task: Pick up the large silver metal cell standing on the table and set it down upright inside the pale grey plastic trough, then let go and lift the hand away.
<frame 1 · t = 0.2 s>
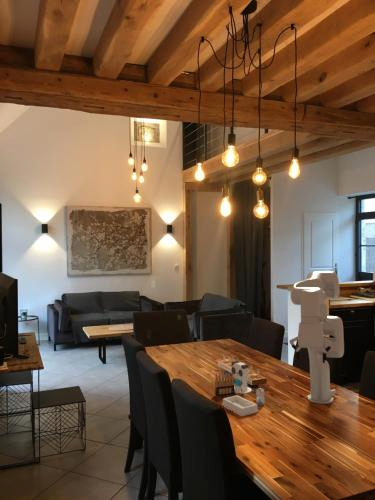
hand: (311, 361, 175), 31 cm above the table, tool pointing down, fingers open, 9 cm apart
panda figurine: (240, 390, 236), on the table
metal cell: (260, 404, 213), on the table
trough: (239, 408, 208), on the table
ammunition clip: (224, 395, 228), on the table
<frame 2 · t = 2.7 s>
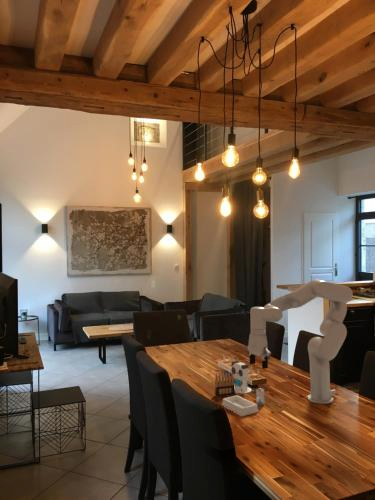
hand: (258, 366, 213), 19 cm above the table, tool pointing down, fingers open, 9 cm apart
nothing on the table moved.
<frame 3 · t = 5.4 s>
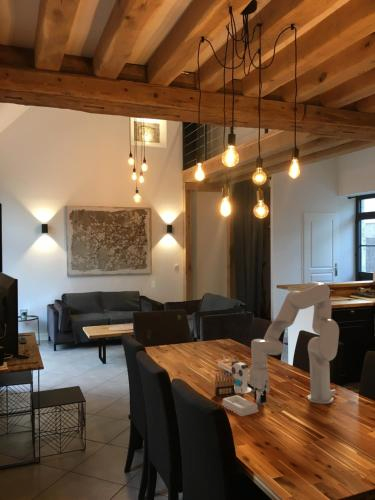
hand: (260, 400, 213), 2 cm above the table, tool pointing down, fingers closed on metal cell, 4 cm apart
metal cell: (260, 404, 213), on the table, touching gripper
everything else where it was.
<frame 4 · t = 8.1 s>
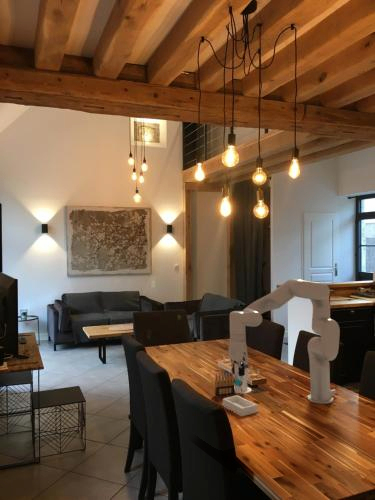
hand: (238, 374, 208), 17 cm above the table, tool pointing down, fingers closed on metal cell, 4 cm apart
metal cell: (238, 377, 208), point 15 cm above the table, touching gripper
everything else where it was.
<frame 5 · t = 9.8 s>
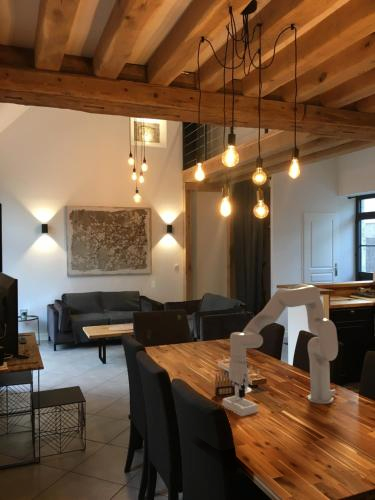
hand: (239, 395, 208), 7 cm above the table, tool pointing down, fingers closed on metal cell, 4 cm apart
metal cell: (239, 399, 208), point 5 cm above the table, touching gripper
everything else where it was.
when the fingers open (5 cm above the table, at t = 11.0 s): metal cell drops 2 cm, resting on trough.
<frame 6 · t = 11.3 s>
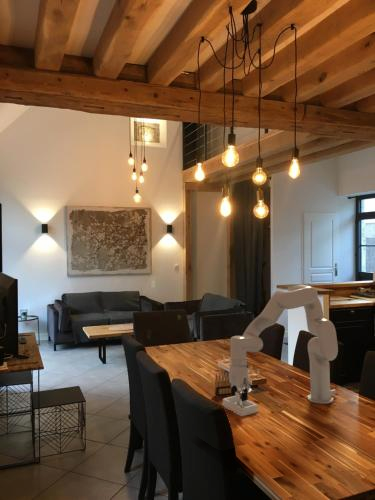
hand: (239, 397, 208), 5 cm above the table, tool pointing down, fingers open, 7 cm apart
metal cell: (239, 406, 208), point 1 cm above the table, touching trough
everything else where it was.
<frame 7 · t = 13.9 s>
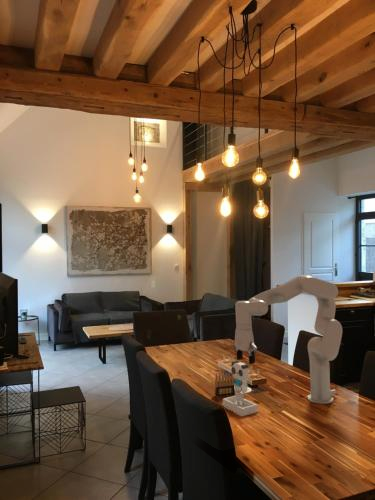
hand: (245, 361, 209), 23 cm above the table, tool pointing down, fingers open, 9 cm apart
nothing on the table moved.
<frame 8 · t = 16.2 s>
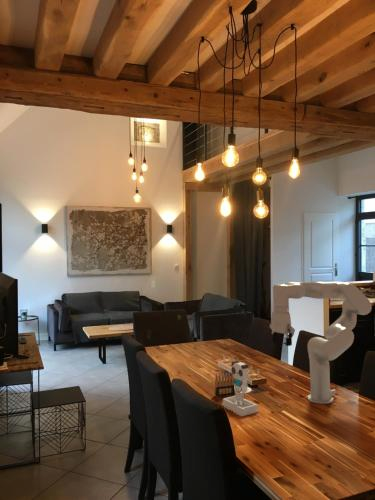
hand: (282, 343, 212), 30 cm above the table, tool pointing down, fingers open, 9 cm apart
nothing on the table moved.
at the end: metal cell inside the target area on the trough (0.1 cm from its centre), point 1.0 cm above the trough's base; metal cell tilted 0°; the gripper is holding nothing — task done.
